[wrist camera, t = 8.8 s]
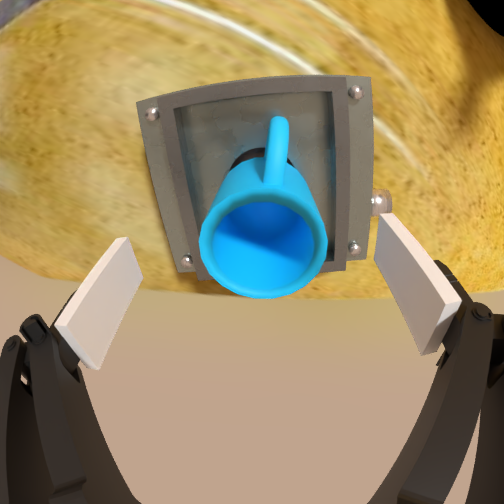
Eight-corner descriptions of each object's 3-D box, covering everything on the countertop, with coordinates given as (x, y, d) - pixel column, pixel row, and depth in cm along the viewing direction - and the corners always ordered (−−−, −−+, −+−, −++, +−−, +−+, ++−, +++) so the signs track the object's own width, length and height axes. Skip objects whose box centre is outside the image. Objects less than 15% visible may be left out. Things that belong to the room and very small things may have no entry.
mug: (300, 246, 26) (310, 304, 19) (215, 235, 26) (197, 290, 19) (326, 122, 20) (358, 136, 13) (227, 107, 20) (206, 112, 13)
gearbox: (190, 244, 34) (173, 284, 27) (160, 99, 25) (125, 103, 18) (374, 230, 32) (397, 267, 25) (376, 81, 22) (411, 80, 15)
